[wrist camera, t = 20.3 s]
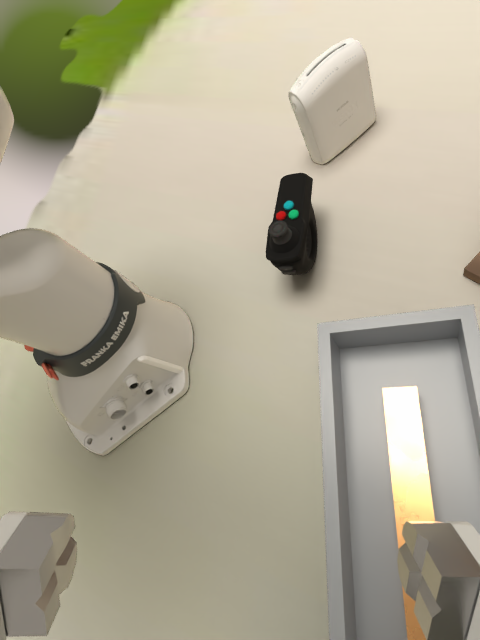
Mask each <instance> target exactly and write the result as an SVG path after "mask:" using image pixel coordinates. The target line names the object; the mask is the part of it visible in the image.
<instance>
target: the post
mask: <svg viewBox="0 0 480 640" xmlns="http://www.w3.org/2000/svg"><path fill="white" fill-rule="evenodd" d="M463 275H464V276H466V277H467V278H469V279H471V280H473V281H475V282H477V283H478V284H480V252H479V253H478V254H477V255H476V256H475V257H474V258H473V260H472V261H471V262H470V263H469V264H468V265H467V266H466V267H465V268H464V274H463Z"/></svg>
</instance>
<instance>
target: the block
mask: <svg viewBox="0 0 480 640" xmlns="http://www.w3.org/2000/svg"><path fill="white" fill-rule="evenodd" d="M382 389H383V399H384V409H385V419H386V429H387V439H388V449H389V459H390V469H391V479H392V489H393V499H394V509H395V519H396V529H397V539H398V549H399V548H400V547H401V546H402V545H403V544H404V543H405V540H404V538H403V536H402V530H403V525H404V524H405V522H406V521H435V518H434V510H433V503H432V496H431V488H430V481H429V473H428V466H427V458H426V451H425V443H424V436H423V428H422V421H421V414H420V406H419V399H418V391H417V386H413V387H394V388H382ZM402 589H403V599H404V609H405V619H406V629H407V639H408V640H426V638H425V635H424V633H423V631H422V629H421V626H420V624H419V622H418V620H417V618H416V615H415V613H414V607H415V601H414V600H413V599H412V598H411V597H410V596H409V595H407V594H406V593H405V591H404V588H403V586H402Z"/></svg>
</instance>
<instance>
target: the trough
mask: <svg viewBox="0 0 480 640" xmlns="http://www.w3.org/2000/svg"><path fill="white" fill-rule="evenodd" d="M317 328H318V354H319V380H320V406H321V432H322V458H323V484H324V510H325V536H326V562H327V588H328V614H329V640H408V639H407V629H406V619H405V609H404V599H403V589H402V583H401V580H400V577H399V573H398V563H397V558H398V551H399V549H398V539H397V529H396V519H395V509H394V499H393V489H392V479H391V469H390V459H389V449H388V439H387V429H386V419H385V409H384V399H383V389H382V388H394V387H413V386H417V391H418V399H419V406H420V414H421V421H422V428H423V436H424V443H425V451H426V458H427V466H428V473H429V481H430V488H431V496H432V503H433V510H434V518H435V521H437V522H447V521H467V522H469V523H470V524H472V526H473V527H474V528H475V529H476V531H477V532H478V533H479V535H480V332H479V328H478V323H477V318H476V313H475V308H474V305H465V306H457V307H449V308H440V309H432V310H424V311H415V312H407V313H399V314H391V315H382V316H374V317H366V318H357V319H349V320H341V321H333V322H324V323H317Z"/></svg>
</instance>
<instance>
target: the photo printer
mask: <svg viewBox="0 0 480 640" xmlns="http://www.w3.org/2000/svg"><path fill="white" fill-rule="evenodd" d="M289 100H290V103H291V105H292V108H293V111H294V113H295V116H296V119H297V121H298V124H299V127H300V130H301V132H302V135H303V138H304V140H305V143H306V146H307V149H308V151H309V153H310V156H311V158H312V160H313V161H314V162H315V163H318V164H325V163H327V162H329V161H330V160H331V159H333V158H334V157H335V156H336V155H338V154H339V153H340V152H341V151H342V150H344V149H345V148H346V147H347V146H348V145H350V144H351V143H352V142H353V141H354V140H355V139H357V138H358V137H359V136H360V135H361V134H362V133H363V132H364V131H366V130H367V129H368V128H369V127H370V126H371V125H372V124H373V123H374V122H375V120H376V112H375V105H374V98H373V92H372V85H371V79H370V73H369V67H368V60H367V56H366V52H365V50H364V48H363V46H362V45H361V43H360V42H359V41H358V40H354V39H353V38H352V37H350V38H348V39H345V40H343V41H341V42H339V43H337V44H335V45H333V46H332V47H330V48H329V49H327V50H326V51H324V52H323V53H322V54H321V55H319V56H318V57H317V58H316V59H315V60H314V61H313V62H312V63H311V64H310V65H309V66H308V67H307V68H306V69H305V70H304V71H303V72H302V73H301V75H300V76H299V77H298V79H297V80H296V81H295V83H294V84H293V86H292V87H291V89H290V91H289Z"/></svg>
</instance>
